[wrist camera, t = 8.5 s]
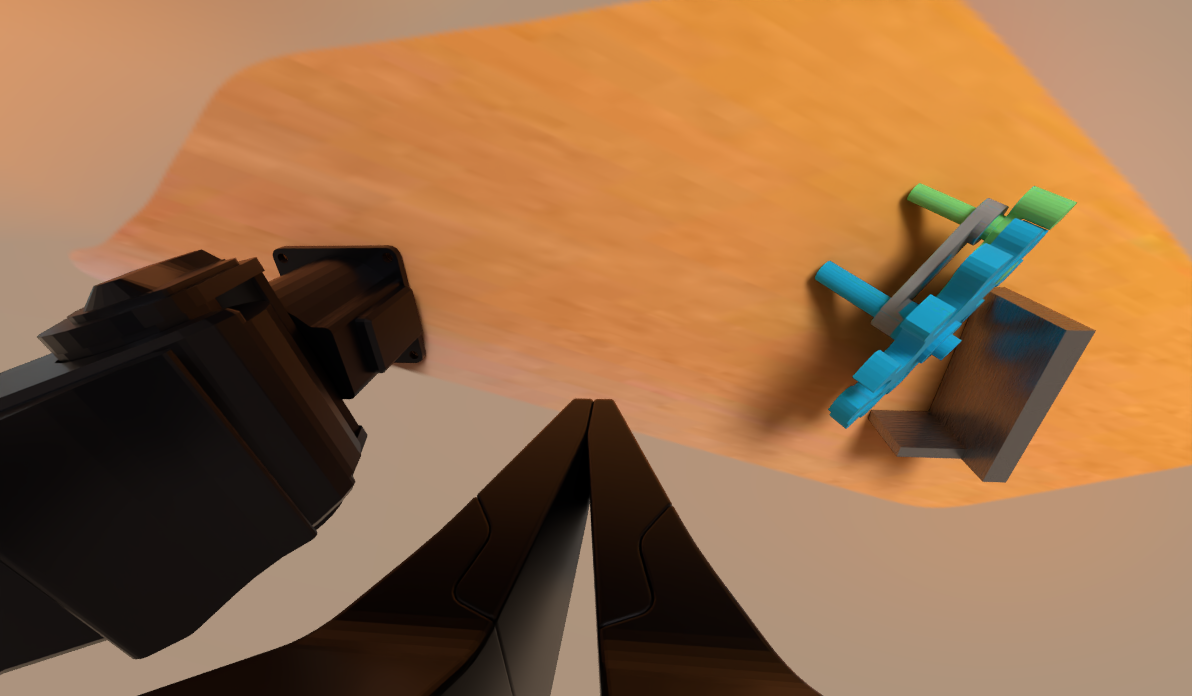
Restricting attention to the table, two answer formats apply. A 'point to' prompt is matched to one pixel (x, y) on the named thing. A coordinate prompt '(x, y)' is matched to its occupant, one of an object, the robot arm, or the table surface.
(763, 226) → the table surface
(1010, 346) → the bay frame
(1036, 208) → the gear
